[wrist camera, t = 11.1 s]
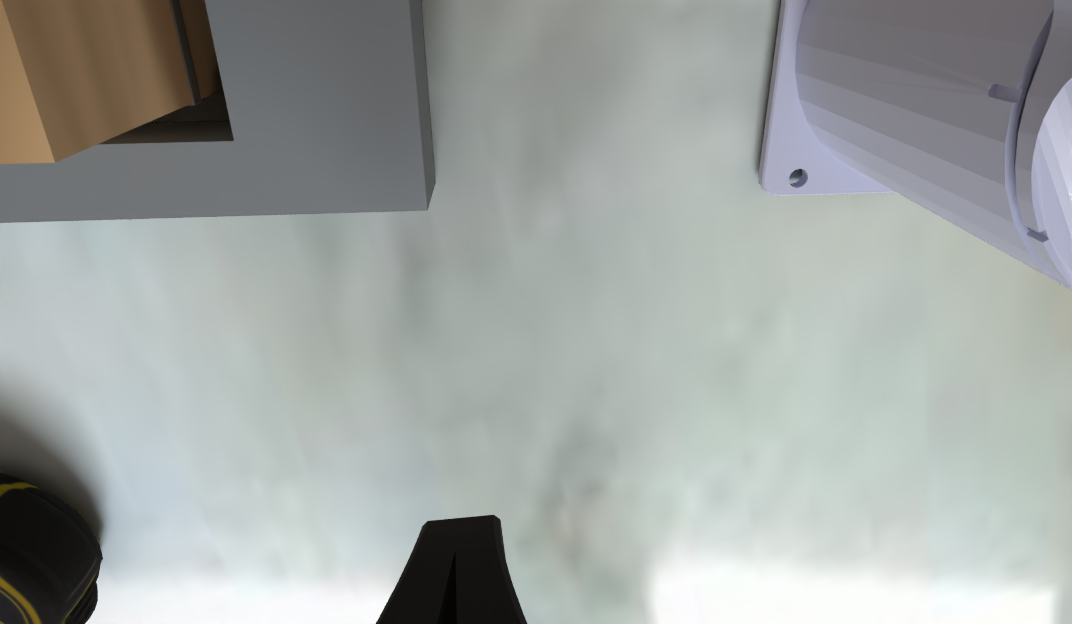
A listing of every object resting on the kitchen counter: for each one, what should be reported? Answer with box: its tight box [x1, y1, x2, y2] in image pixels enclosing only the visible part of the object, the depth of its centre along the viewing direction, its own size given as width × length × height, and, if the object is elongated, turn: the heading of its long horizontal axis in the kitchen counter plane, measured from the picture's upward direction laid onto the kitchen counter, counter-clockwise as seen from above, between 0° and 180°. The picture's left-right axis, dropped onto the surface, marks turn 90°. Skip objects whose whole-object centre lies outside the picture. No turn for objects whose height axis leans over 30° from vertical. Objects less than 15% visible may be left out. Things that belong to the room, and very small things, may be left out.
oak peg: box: [0, 0, 223, 164], centre depth 13 cm, size 4×4×8 cm
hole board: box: [0, 0, 436, 223], centre depth 16 cm, size 14×9×2 cm, turn 91°
